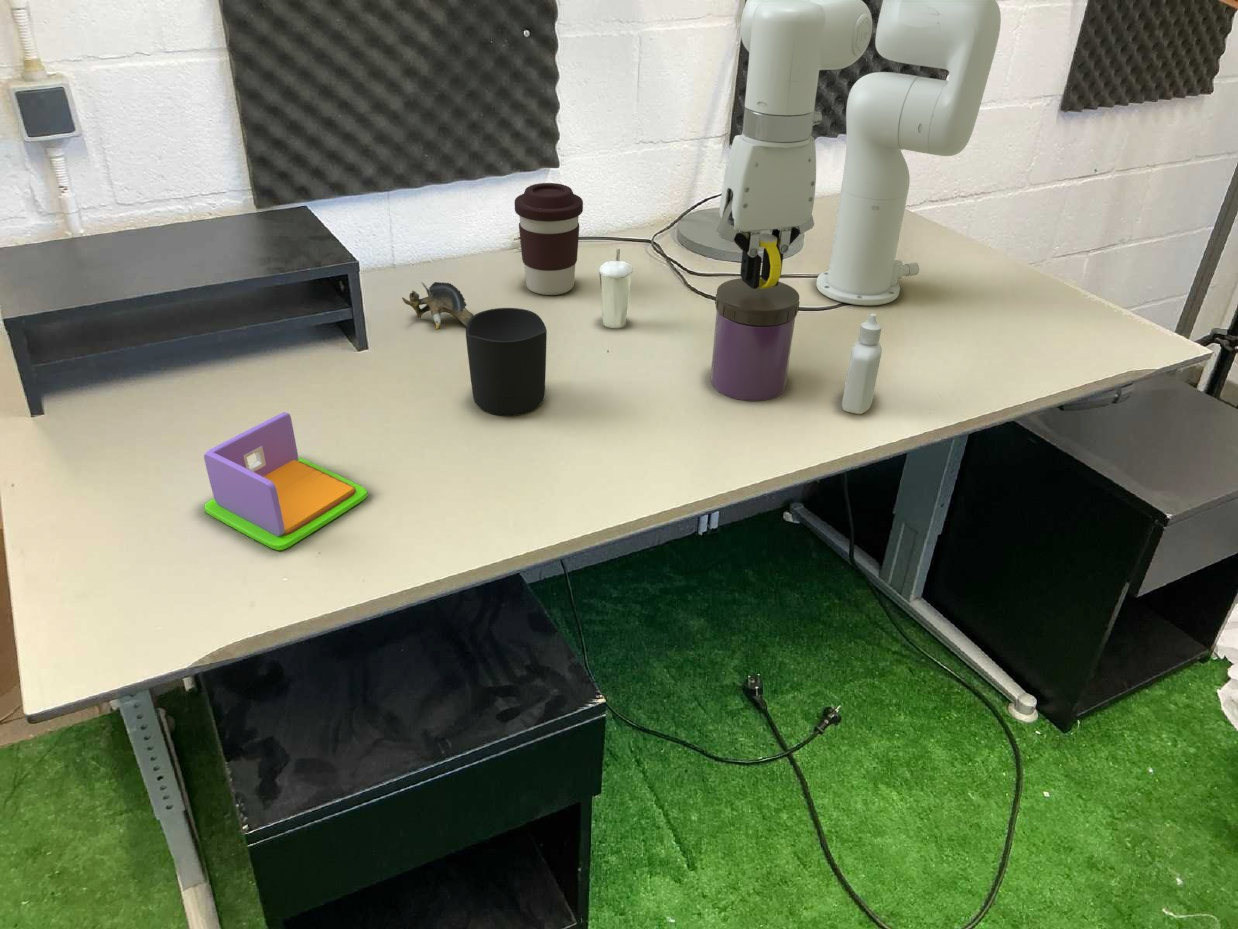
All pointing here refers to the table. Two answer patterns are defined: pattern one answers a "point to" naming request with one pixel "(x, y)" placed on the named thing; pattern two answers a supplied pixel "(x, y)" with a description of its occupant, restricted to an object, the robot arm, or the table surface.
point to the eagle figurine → (440, 302)
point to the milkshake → (615, 291)
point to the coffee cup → (549, 236)
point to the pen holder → (507, 360)
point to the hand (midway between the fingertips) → (759, 282)
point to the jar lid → (757, 303)
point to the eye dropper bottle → (863, 368)
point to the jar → (750, 359)
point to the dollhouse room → (274, 486)
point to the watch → (771, 260)
